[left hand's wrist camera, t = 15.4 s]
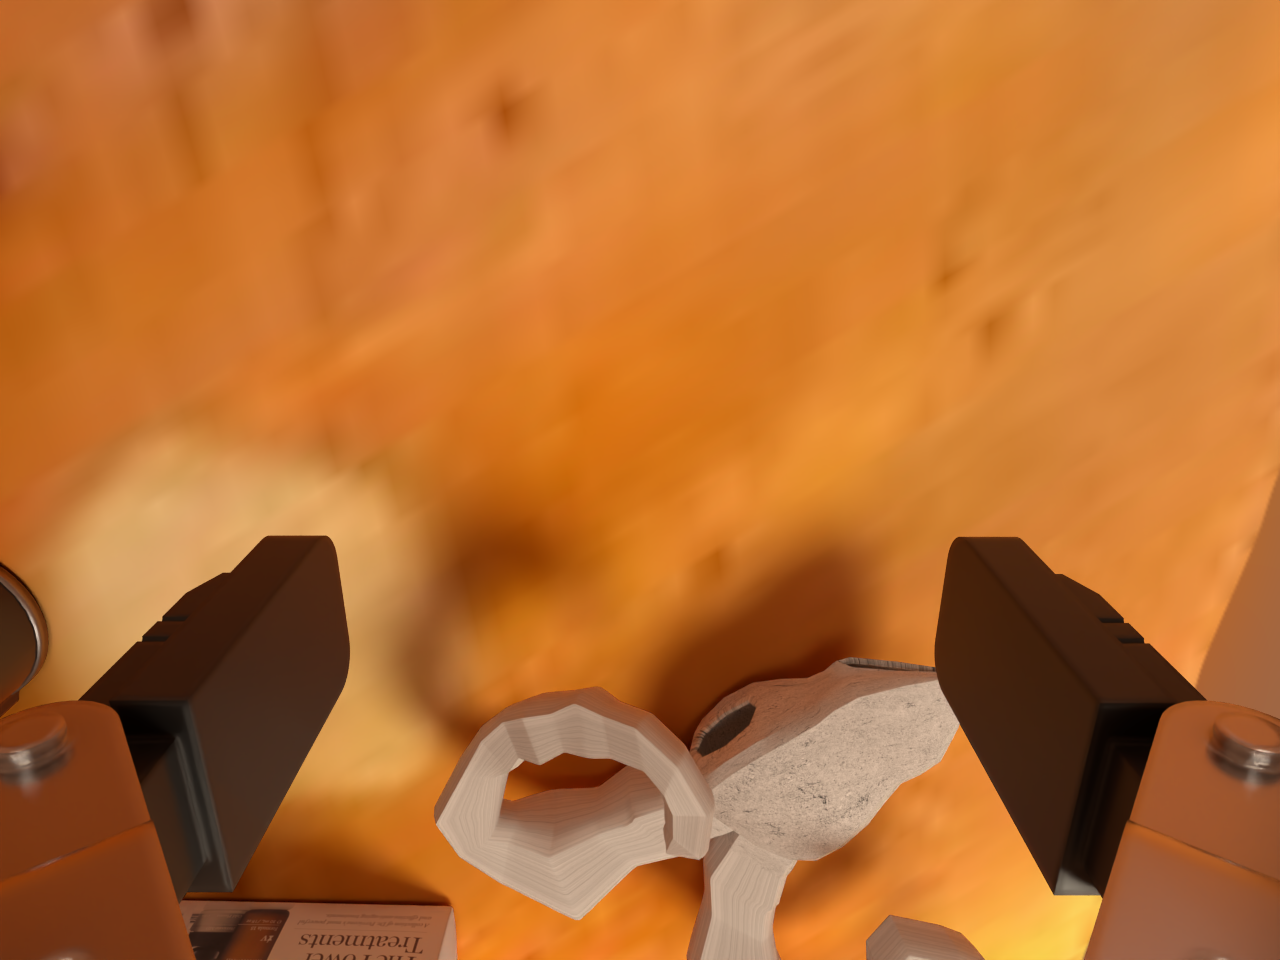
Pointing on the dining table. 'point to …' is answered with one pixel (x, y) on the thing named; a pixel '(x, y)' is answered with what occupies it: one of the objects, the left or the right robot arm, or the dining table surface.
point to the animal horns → (706, 797)
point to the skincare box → (318, 931)
